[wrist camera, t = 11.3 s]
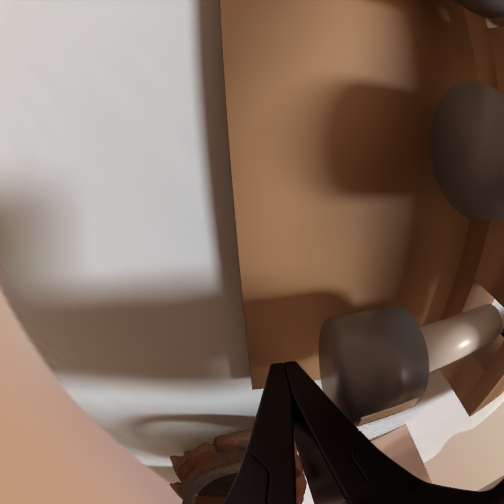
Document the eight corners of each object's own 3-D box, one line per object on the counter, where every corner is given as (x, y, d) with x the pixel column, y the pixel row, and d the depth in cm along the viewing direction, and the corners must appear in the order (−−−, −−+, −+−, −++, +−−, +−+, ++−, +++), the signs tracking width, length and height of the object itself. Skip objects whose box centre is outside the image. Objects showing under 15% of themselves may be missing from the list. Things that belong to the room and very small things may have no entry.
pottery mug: (148, 439, 17) (137, 507, 9) (221, 364, 19) (243, 420, 11) (255, 492, 18) (280, 549, 10) (323, 431, 20) (372, 479, 12)
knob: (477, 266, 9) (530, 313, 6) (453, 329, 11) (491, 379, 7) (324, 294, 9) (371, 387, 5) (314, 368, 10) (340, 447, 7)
